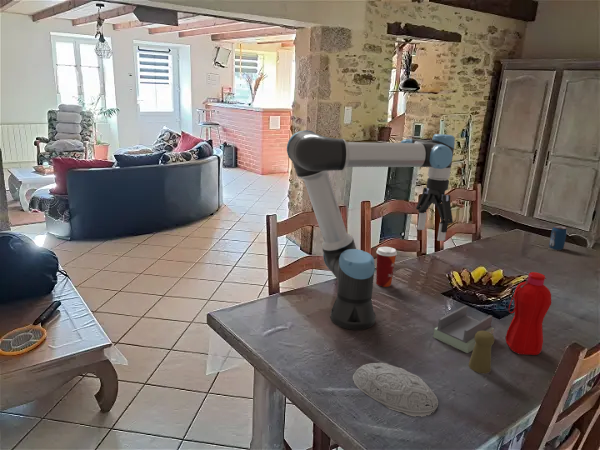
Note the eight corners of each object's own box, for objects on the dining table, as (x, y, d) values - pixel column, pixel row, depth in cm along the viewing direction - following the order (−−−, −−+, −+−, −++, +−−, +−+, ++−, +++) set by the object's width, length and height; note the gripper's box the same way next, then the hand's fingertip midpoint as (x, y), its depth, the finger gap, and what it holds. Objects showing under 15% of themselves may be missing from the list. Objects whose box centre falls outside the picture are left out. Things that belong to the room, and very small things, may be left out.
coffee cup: (395, 288, 181) (399, 253, 177) (374, 287, 181) (378, 252, 177) (391, 280, 189) (395, 246, 185) (372, 279, 190) (375, 245, 185)
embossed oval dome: (427, 426, 105) (430, 400, 104) (337, 387, 120) (339, 363, 119) (450, 400, 118) (453, 376, 116) (366, 367, 132) (368, 345, 131)
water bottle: (496, 339, 145) (509, 267, 138) (530, 341, 145) (545, 268, 138) (507, 355, 137) (522, 279, 130) (544, 357, 136) (561, 280, 129)
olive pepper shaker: (491, 364, 132) (497, 330, 128) (490, 375, 126) (496, 340, 123) (469, 359, 134) (474, 325, 131) (467, 369, 129) (473, 335, 126)
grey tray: (467, 353, 137) (470, 332, 135) (433, 337, 146) (435, 317, 144) (492, 336, 147) (496, 317, 145) (459, 322, 156) (462, 304, 154)
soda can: (564, 248, 240) (569, 227, 237) (561, 251, 235) (565, 229, 232) (550, 245, 245) (554, 224, 241) (546, 248, 240) (551, 226, 236)
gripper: (469, 185, 152) (459, 245, 158) (428, 172, 175) (421, 225, 181) (449, 185, 150) (440, 245, 155) (411, 172, 173) (404, 225, 178)
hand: (430, 234), depth 168 cm, fingers open, 13 cm apart
